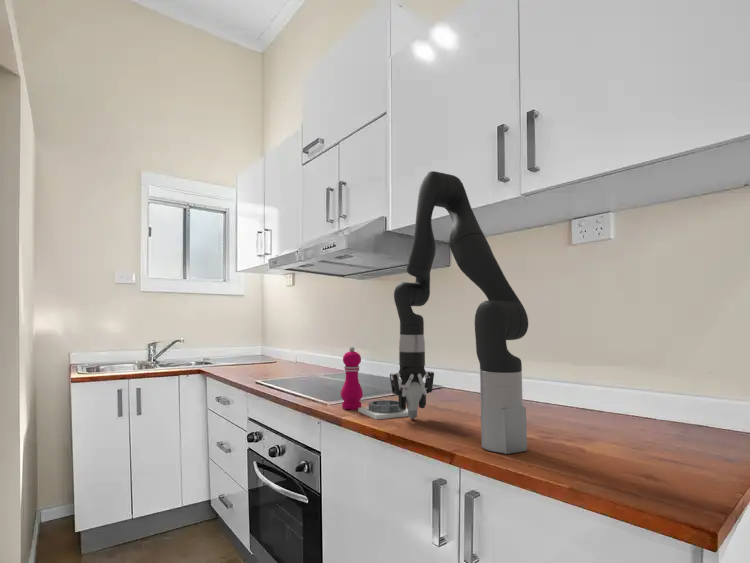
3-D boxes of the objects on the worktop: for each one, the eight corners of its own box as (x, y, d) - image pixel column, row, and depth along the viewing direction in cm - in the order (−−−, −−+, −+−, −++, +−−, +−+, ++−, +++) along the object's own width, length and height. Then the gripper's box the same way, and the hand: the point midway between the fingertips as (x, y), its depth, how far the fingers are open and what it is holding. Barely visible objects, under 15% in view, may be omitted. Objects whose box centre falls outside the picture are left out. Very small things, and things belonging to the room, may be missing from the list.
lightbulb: (422, 421, 131) (421, 382, 132) (400, 421, 132) (400, 381, 133) (424, 417, 137) (423, 379, 138) (403, 416, 138) (403, 379, 139)
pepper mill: (359, 405, 157) (359, 345, 159) (365, 409, 150) (365, 347, 152) (338, 406, 155) (338, 346, 156) (343, 410, 148) (344, 347, 149)
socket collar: (409, 411, 141) (409, 404, 141) (378, 414, 136) (378, 407, 137) (393, 405, 150) (393, 399, 151) (363, 408, 146) (363, 401, 146)
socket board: (414, 415, 140) (414, 411, 140) (376, 419, 135) (376, 415, 135) (394, 408, 152) (394, 404, 152) (358, 411, 146) (358, 407, 146)
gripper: (396, 351, 130) (396, 413, 128) (439, 350, 136) (440, 408, 135) (384, 350, 137) (384, 408, 135) (426, 348, 143) (426, 404, 141)
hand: (412, 408), depth 135 cm, fingers closed on lightbulb, 5 cm apart
